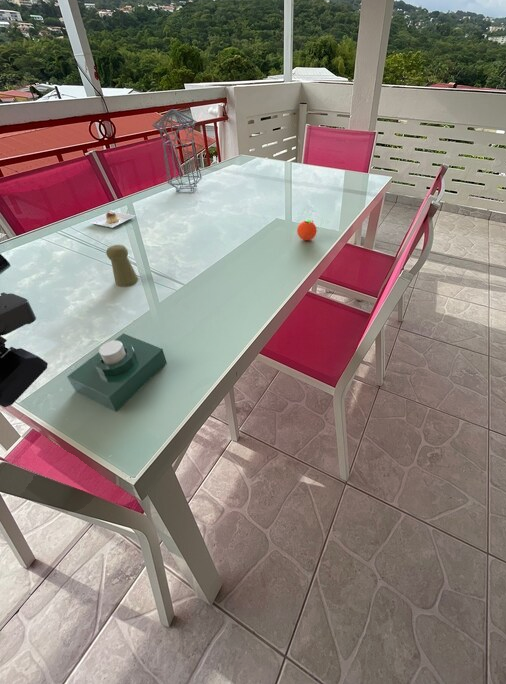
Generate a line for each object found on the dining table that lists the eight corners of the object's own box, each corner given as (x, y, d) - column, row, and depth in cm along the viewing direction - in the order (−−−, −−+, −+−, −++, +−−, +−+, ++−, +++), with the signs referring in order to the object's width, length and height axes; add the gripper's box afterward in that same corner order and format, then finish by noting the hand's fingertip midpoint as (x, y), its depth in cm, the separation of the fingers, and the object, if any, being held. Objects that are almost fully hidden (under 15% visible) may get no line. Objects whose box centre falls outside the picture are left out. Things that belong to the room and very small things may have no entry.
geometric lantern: (165, 195, 154) (146, 111, 134) (177, 184, 167) (161, 106, 147) (198, 196, 154) (185, 112, 134) (207, 185, 167) (196, 107, 147)
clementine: (305, 232, 123) (305, 214, 119) (321, 237, 120) (322, 218, 116) (293, 240, 117) (293, 222, 113) (309, 245, 114) (310, 226, 110)
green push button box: (116, 411, 60) (105, 390, 57) (75, 390, 64) (62, 369, 60) (167, 362, 70) (160, 342, 66) (128, 347, 74) (120, 326, 70)
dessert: (88, 225, 126) (84, 213, 123) (113, 213, 135) (109, 202, 133) (113, 230, 123) (109, 218, 120) (136, 218, 132) (133, 206, 129)
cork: (125, 288, 92) (113, 254, 86) (110, 283, 94) (97, 249, 88) (142, 278, 96) (132, 244, 90) (128, 273, 98) (116, 240, 92)
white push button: (113, 367, 61) (109, 358, 60) (98, 360, 63) (93, 351, 61) (130, 353, 64) (126, 344, 63) (115, 347, 66) (111, 337, 64)
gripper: (38, 295, 39) (109, 359, 51) (-50, 261, 45) (32, 325, 57) (-58, 378, 33) (49, 429, 44) (-144, 325, 39) (-30, 382, 51)
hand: (25, 385), depth 49 cm, fingers closed
